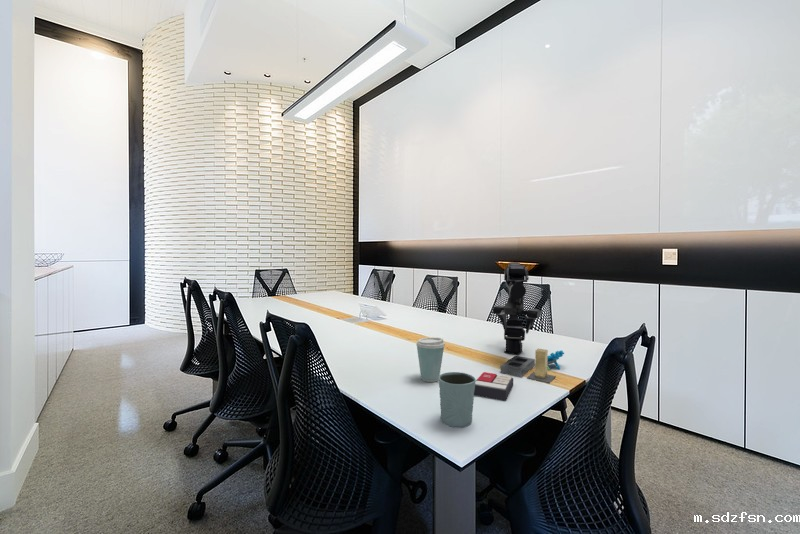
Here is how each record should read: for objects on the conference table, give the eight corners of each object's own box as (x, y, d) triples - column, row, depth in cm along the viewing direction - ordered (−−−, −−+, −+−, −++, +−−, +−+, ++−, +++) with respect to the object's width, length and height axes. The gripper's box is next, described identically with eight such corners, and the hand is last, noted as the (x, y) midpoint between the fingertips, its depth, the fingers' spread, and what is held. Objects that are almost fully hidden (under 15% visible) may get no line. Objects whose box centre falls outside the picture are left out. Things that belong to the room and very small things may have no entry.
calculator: (513, 375, 125) (506, 388, 111) (513, 387, 125) (506, 401, 111) (482, 370, 130) (471, 382, 116) (482, 382, 130) (471, 395, 116)
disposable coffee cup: (412, 382, 127) (412, 340, 127) (420, 372, 138) (420, 334, 137) (441, 386, 124) (441, 343, 123) (447, 375, 134) (447, 336, 133)
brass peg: (535, 377, 131) (535, 350, 131) (537, 374, 134) (538, 348, 133) (544, 379, 129) (545, 352, 129) (547, 376, 132) (547, 349, 131)
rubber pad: (526, 378, 131) (526, 377, 131) (533, 372, 137) (533, 371, 137) (549, 383, 126) (549, 382, 126) (555, 377, 132) (555, 376, 132)
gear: (555, 358, 150) (566, 346, 142) (563, 371, 146) (575, 359, 139) (533, 364, 146) (544, 353, 139) (541, 378, 143) (552, 366, 135)
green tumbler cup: (434, 424, 96) (434, 381, 96) (443, 409, 106) (443, 369, 105) (471, 431, 93) (472, 386, 92) (477, 414, 102) (478, 373, 102)
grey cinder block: (500, 372, 137) (500, 365, 137) (515, 362, 150) (515, 355, 149) (521, 377, 132) (521, 369, 132) (534, 366, 145) (534, 359, 145)
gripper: (487, 295, 148) (486, 332, 148) (533, 298, 136) (532, 339, 137) (497, 292, 156) (497, 327, 157) (541, 296, 145) (541, 333, 146)
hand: (515, 332), depth 149 cm, fingers open, 9 cm apart
